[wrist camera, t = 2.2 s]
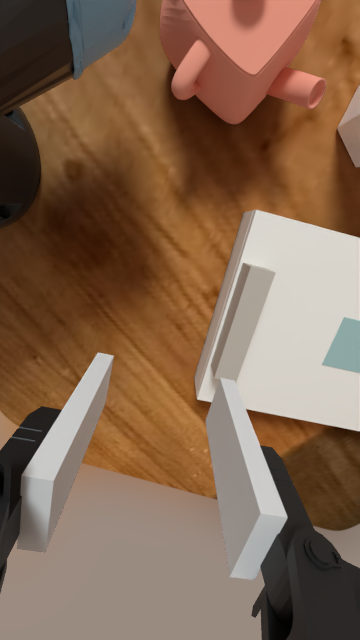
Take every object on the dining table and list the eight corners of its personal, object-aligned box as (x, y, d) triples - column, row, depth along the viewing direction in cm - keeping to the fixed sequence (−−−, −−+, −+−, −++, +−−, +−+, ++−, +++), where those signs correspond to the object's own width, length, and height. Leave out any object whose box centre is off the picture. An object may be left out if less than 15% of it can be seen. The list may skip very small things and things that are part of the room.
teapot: (311, -19, 23) (404, -189, 14) (287, 137, 27) (347, 88, 18) (151, -31, 23) (134, -213, 14) (150, 129, 27) (136, 75, 17)
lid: (196, 395, 33) (199, 416, 29) (253, 210, 26) (266, 207, 22) (396, 435, 35) (422, 458, 32) (498, 276, 28) (545, 283, 25)
